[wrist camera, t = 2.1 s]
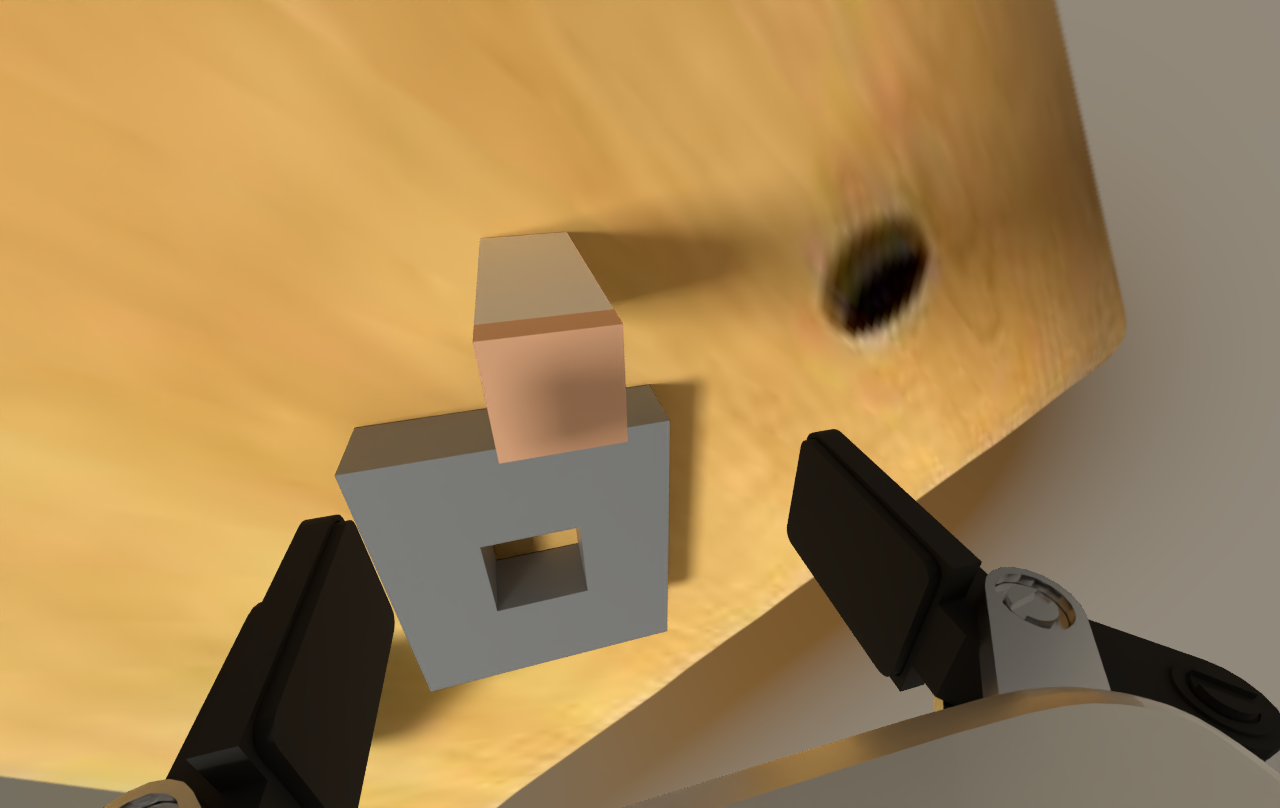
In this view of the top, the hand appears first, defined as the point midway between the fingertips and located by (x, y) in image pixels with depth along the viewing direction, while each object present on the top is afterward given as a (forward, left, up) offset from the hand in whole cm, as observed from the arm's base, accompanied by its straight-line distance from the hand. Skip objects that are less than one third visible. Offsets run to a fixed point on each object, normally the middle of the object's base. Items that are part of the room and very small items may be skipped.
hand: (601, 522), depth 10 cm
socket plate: (+16, -2, -17) cm, 23 cm away
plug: (0, 0, -17) cm, 17 cm away
